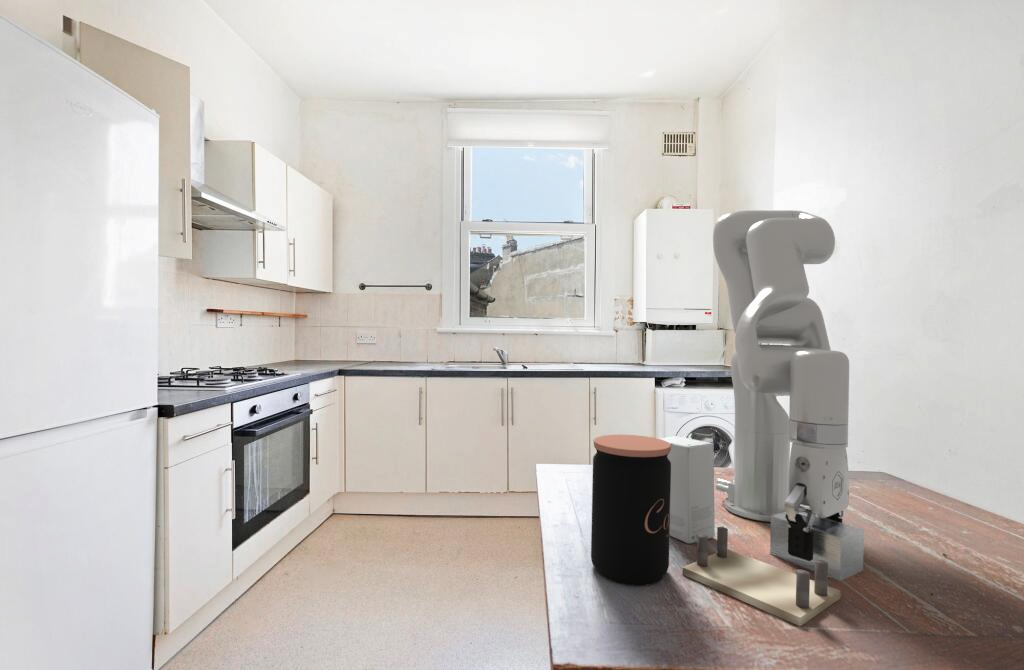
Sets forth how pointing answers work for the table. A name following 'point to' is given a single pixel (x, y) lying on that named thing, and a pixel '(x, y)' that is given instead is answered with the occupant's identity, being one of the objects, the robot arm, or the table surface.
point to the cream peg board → (762, 581)
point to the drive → (823, 545)
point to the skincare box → (691, 488)
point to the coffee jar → (631, 509)
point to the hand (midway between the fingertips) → (815, 549)
